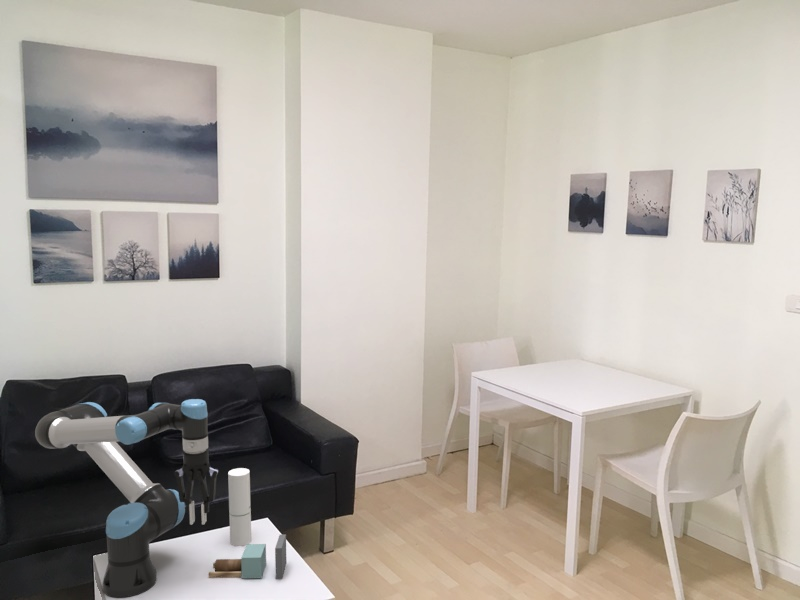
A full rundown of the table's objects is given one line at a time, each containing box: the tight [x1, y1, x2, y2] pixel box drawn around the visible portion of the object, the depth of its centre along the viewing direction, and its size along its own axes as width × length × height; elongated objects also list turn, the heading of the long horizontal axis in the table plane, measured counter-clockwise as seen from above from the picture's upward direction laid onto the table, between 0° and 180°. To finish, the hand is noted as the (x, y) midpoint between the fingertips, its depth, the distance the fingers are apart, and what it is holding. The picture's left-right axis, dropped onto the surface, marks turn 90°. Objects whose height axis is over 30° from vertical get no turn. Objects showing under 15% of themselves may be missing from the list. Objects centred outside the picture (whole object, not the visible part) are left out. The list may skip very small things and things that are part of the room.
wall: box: [274, 534, 287, 580], centre depth 204 cm, size 2×9×10 cm, turn 2°
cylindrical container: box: [227, 467, 252, 547], centre depth 222 cm, size 7×7×25 cm
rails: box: [207, 562, 242, 579], centre depth 204 cm, size 10×6×2 cm, turn 92°
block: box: [240, 543, 267, 579], centre depth 204 cm, size 6×9×7 cm
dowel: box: [214, 558, 242, 573], centre depth 204 cm, size 8×4×4 cm, turn 92°
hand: (198, 522), depth 202 cm, fingers open, 3 cm apart
